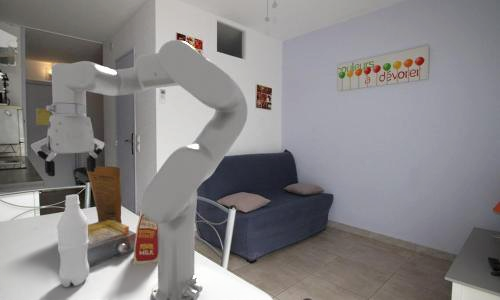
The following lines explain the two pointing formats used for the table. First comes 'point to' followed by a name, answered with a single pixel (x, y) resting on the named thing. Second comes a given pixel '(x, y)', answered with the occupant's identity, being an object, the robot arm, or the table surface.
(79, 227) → the water bottle
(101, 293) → the table surface
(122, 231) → the gray box with knob
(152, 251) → the milk carton
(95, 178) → the pancake mix bag
